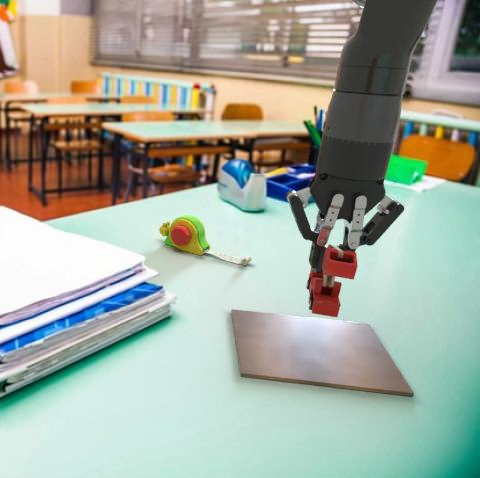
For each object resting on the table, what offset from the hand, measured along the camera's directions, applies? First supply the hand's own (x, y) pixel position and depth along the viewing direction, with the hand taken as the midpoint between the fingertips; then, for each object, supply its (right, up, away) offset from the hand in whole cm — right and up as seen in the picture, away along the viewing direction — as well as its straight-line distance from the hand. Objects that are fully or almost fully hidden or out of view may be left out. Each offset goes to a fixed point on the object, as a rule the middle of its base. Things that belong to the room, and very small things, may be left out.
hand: (328, 271), depth 62 cm
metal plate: (-1, -11, +4) cm, 12 cm away
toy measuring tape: (-10, +1, +35) cm, 36 cm away
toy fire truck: (0, -5, +2) cm, 5 cm away
